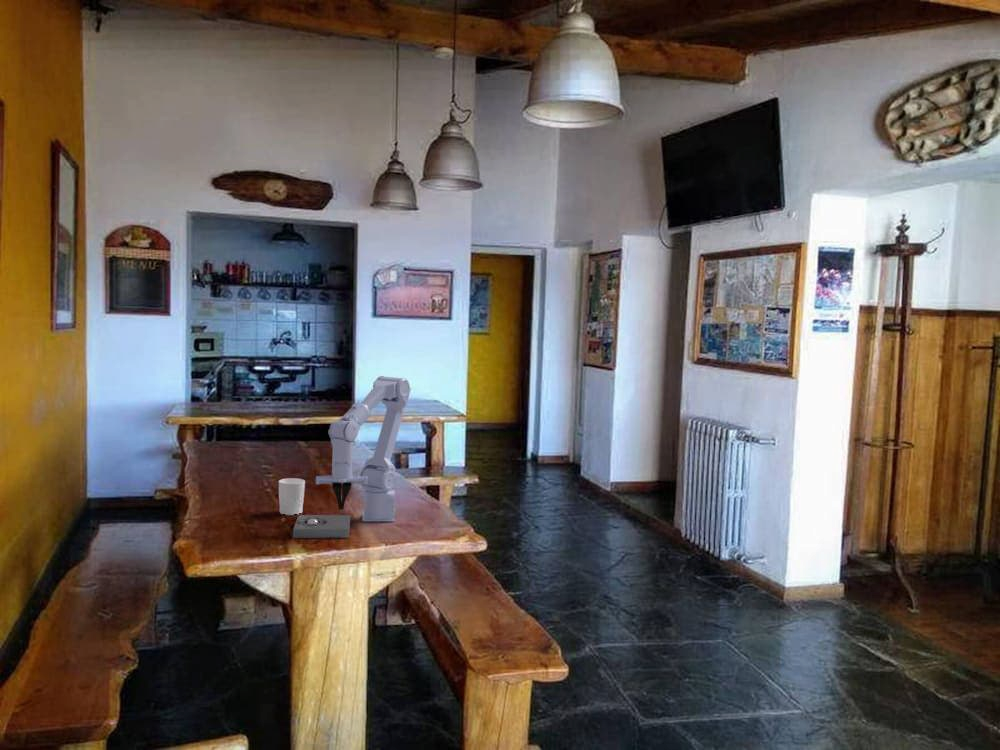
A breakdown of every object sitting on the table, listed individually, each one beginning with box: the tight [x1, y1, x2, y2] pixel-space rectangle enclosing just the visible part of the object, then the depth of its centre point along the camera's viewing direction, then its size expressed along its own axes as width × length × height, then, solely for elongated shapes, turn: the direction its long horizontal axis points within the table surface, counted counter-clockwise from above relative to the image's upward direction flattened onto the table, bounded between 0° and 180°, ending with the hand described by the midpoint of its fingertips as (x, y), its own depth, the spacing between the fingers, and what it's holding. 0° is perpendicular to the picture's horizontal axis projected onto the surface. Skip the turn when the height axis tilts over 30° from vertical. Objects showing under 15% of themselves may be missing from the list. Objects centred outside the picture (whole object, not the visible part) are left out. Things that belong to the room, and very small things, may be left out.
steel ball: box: [307, 519, 318, 524], centre depth 215 cm, size 3×3×3 cm
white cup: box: [278, 477, 306, 516], centre depth 232 cm, size 8×8×10 cm
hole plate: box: [292, 514, 351, 539], centre depth 215 cm, size 15×15×2 cm
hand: (341, 508), depth 215 cm, fingers closed
